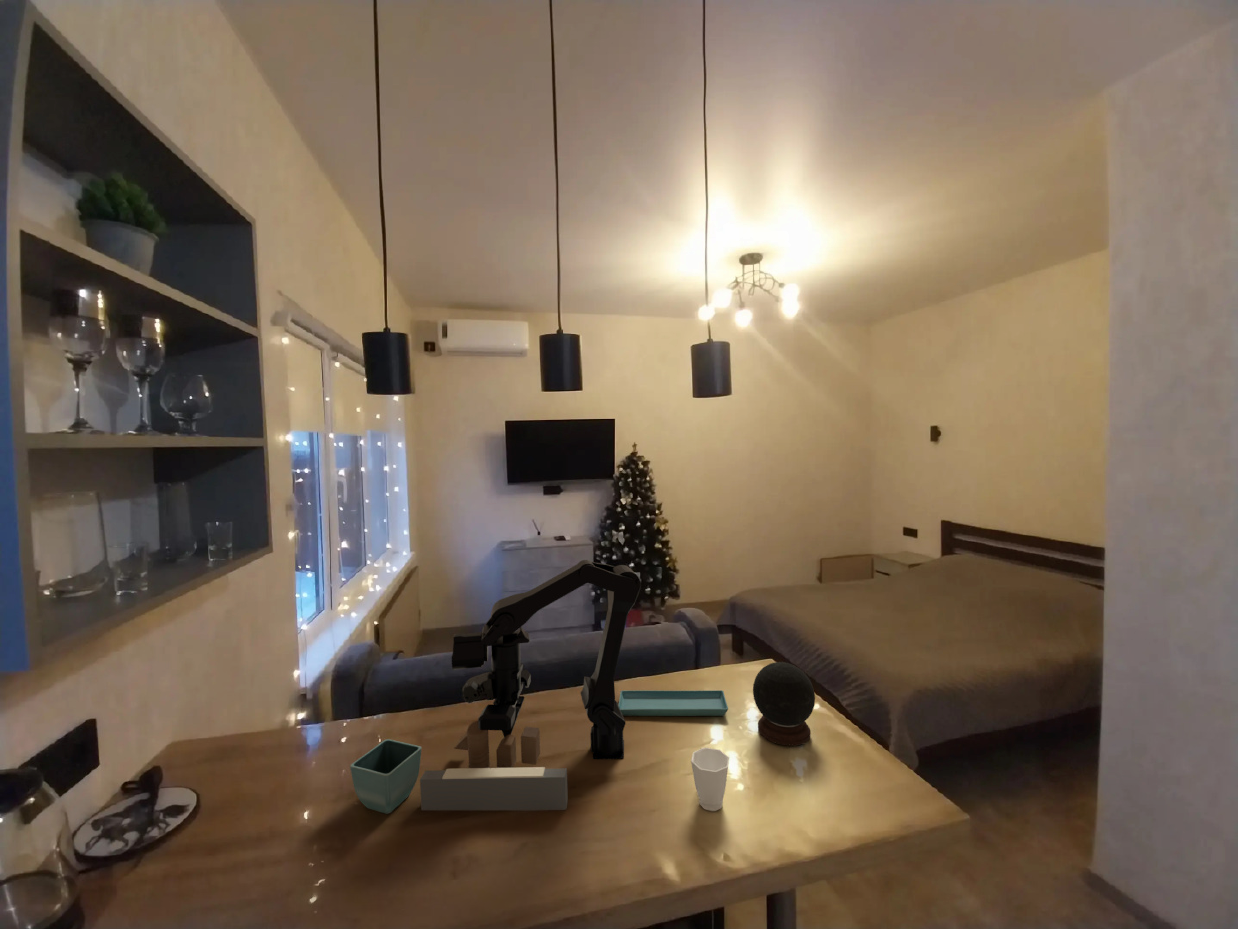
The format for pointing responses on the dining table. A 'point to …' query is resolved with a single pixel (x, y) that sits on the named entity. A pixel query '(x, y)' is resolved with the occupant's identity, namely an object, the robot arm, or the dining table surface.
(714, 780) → the cup
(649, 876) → the dining table surface
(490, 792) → the board
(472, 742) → the wooden block set
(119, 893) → the dining table surface
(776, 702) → the ball on wooden stand
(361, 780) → the flower pot
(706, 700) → the shallow long dish
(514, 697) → the robot arm
